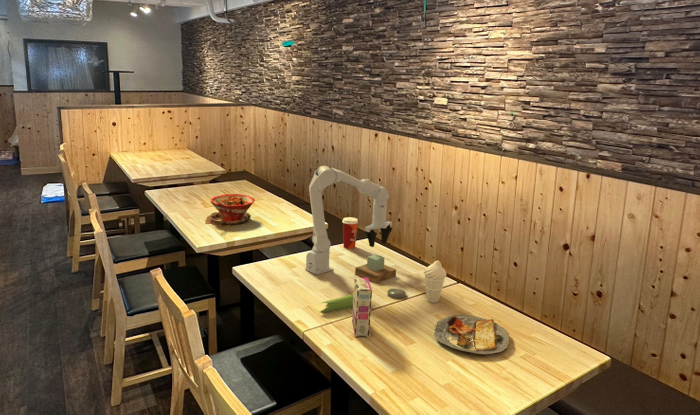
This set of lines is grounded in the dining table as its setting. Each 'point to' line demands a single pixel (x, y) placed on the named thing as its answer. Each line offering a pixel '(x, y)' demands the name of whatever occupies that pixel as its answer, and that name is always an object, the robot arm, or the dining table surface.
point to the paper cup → (349, 232)
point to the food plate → (483, 332)
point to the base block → (375, 273)
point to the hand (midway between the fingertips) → (377, 244)
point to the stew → (230, 209)
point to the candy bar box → (361, 306)
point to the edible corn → (339, 304)
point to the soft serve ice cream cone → (434, 281)
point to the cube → (375, 262)
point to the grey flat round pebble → (396, 293)
